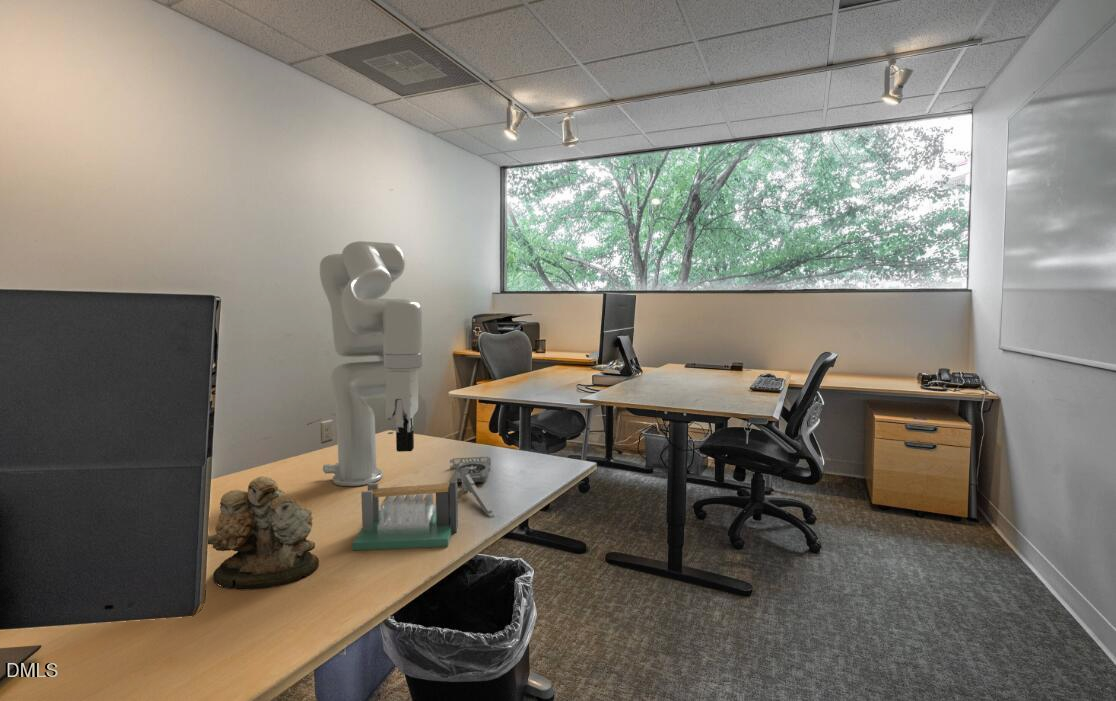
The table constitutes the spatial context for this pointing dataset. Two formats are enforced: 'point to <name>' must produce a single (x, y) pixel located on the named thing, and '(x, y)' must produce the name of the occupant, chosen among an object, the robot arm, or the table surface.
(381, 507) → the heat sink
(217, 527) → the owl figurine
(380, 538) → the motherboard
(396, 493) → the strap
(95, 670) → the table surface
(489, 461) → the graphics card
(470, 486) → the caliper
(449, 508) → the lug
